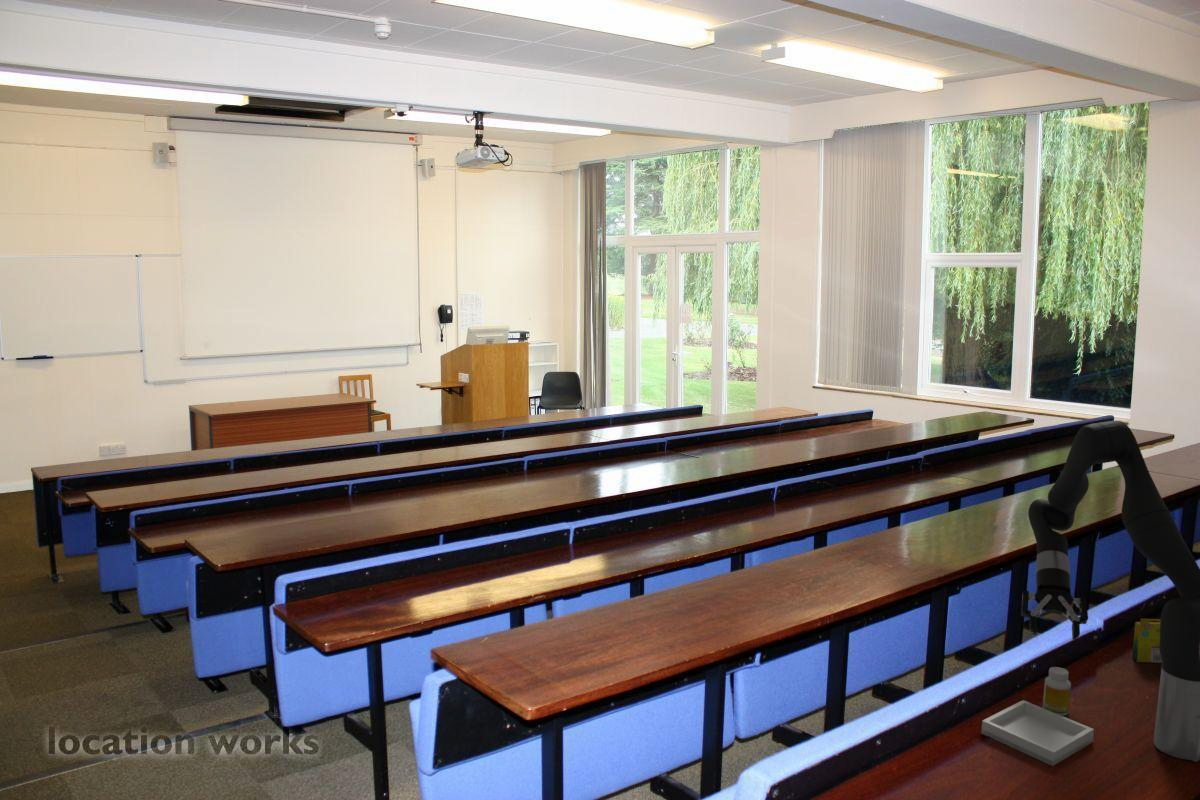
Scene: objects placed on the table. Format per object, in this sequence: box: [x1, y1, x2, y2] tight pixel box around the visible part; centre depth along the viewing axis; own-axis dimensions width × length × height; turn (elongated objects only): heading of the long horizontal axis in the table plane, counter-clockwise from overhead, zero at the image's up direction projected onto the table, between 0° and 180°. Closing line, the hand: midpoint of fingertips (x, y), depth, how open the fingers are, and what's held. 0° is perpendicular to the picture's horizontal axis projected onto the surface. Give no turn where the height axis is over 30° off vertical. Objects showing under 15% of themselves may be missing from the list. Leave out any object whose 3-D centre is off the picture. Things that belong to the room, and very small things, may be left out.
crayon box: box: [1131, 618, 1162, 664], centre depth 241 cm, size 7×3×12 cm, turn 84°
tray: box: [980, 699, 1095, 767], centre depth 204 cm, size 16×16×3 cm
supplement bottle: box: [1042, 666, 1072, 717], centre depth 215 cm, size 5×5×10 cm
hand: (1054, 636), depth 223 cm, fingers open, 8 cm apart
